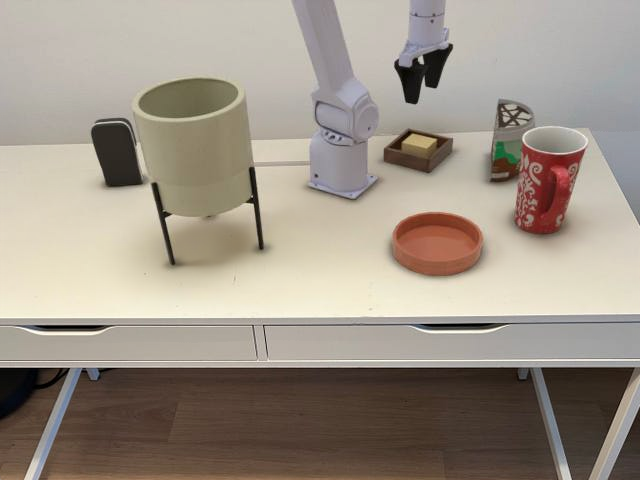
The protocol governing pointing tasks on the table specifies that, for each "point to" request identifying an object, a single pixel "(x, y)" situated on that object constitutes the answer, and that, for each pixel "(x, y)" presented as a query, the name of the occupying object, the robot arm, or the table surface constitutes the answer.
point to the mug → (547, 177)
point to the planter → (197, 148)
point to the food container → (509, 138)
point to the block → (419, 145)
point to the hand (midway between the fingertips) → (421, 94)
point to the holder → (417, 162)
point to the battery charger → (116, 151)
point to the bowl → (437, 243)
